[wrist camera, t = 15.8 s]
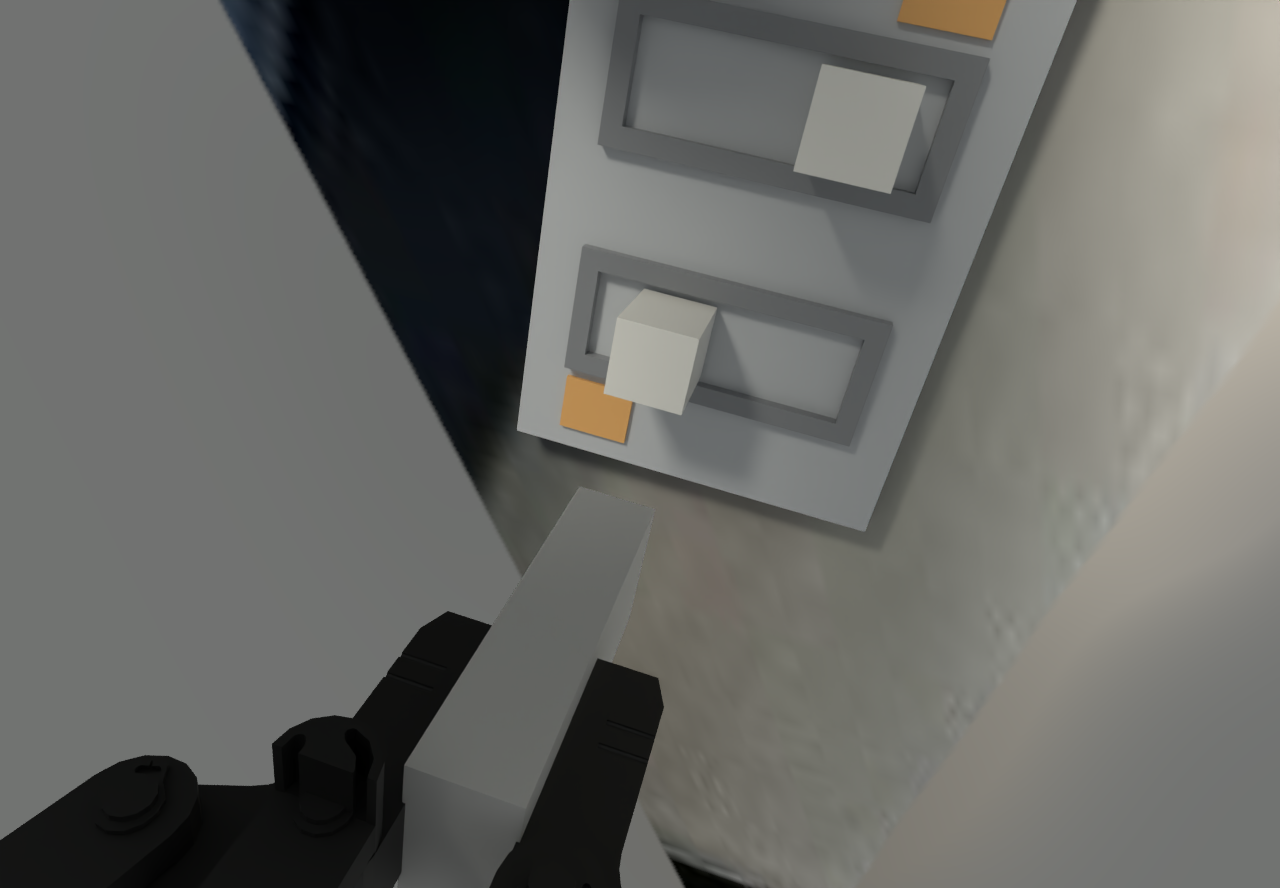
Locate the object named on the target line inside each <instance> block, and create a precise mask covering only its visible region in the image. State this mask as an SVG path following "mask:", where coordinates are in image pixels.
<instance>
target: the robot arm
mask: <svg viewBox="0 0 1280 888" xmlns="http://www.w3.org/2000/svg"><path fill="white" fill-rule="evenodd" d="M654 513H655V509H654V508H650V507H647V506H644V505H640V504H637V503H634V502H630V501H627V500H624V499H620V498H617V497H614V496H610V495H607V494H604V493H600V492H597V491H594V490H590V489H587V488H584V487H579V488H578V490H577V491H576V493H575V494H574V496H573V498H572V499H571V501H570V502H569V504H568V506H567V507H566V509H565V510H564V512H563V514H562V515H561V517H560V518H559V520H558V522H557V523H556V525H555V526H554V528H553V529H552V531H551V533H550V534H549V536H548V537H547V539H546V541H545V542H544V544H543V545H542V547H541V549H540V550H539V552H538V553H537V555H536V556H535V558H534V560H533V561H532V563H531V564H530V566H529V568H528V569H527V571H526V572H525V574H524V576H523V577H522V579H521V580H520V582H519V583H518V585H517V587H516V588H515V590H514V591H513V593H512V595H511V596H510V598H509V600H508V601H507V603H506V604H505V606H504V607H503V609H502V611H501V612H500V614H499V615H498V617H497V618H496V620H495V622H494V623H493V625H489V624H486V623H483V622H480V621H477V620H474V619H470V618H467V617H464V616H461V615H458V614H455V613H452V612H449V611H447V612H446V613H444V614H442V615H441V616H439V617H438V618H436V619H434V620H433V621H431V622H429V623H428V624H426V625H425V626H423V627H421V628H420V629H419V631H418V632H417V634H416V635H415V636H414V637H413V639H412V640H411V642H410V643H409V644H408V645H407V647H406V648H405V649H404V651H403V652H402V655H401V657H398V659H397V660H396V661H395V663H394V664H393V665H392V667H391V668H390V669H389V671H388V673H387V675H386V677H383V679H382V680H381V681H380V683H379V684H378V685H377V687H376V688H375V689H374V691H373V692H372V693H371V695H370V696H369V697H368V699H367V700H366V701H365V703H364V704H363V705H362V707H361V708H360V709H359V711H358V712H357V713H356V715H355V716H354V717H353V718H347V717H342V716H335V715H334V716H327V717H321V718H313V719H310V720H308V721H305V722H303V723H301V724H299V725H297V726H294V727H292V728H290V729H289V730H288V731H286V732H285V733H284V734H283V735H282V736H280V737H279V738H278V739H277V740H276V741H275V742H274V743H272V749H273V764H274V777H275V783H273V784H269V785H257V786H229V785H198V782H197V777H196V776H195V774H194V773H193V772H192V770H191V769H190V768H189V767H188V765H187V764H186V763H184V762H181V761H179V760H176V759H174V758H172V757H169V756H150V755H147V756H146V755H145V756H141V757H137V758H133V759H129V760H125V761H121V762H118V763H117V764H115V765H113V766H111V767H109V768H107V769H105V770H103V771H101V772H99V773H98V774H96V775H94V776H93V777H91V778H90V779H88V780H87V781H86V782H84V783H83V784H81V785H80V786H78V787H77V788H75V789H74V790H72V791H71V792H69V793H68V794H67V795H65V796H64V797H62V798H61V799H59V800H58V801H56V802H55V803H54V804H52V805H51V806H49V807H48V808H46V809H45V810H44V811H42V812H41V813H39V814H38V815H36V816H35V817H33V818H32V819H30V820H29V821H27V822H26V823H25V824H23V825H22V826H20V827H19V828H17V829H16V830H14V831H13V832H12V833H10V834H9V835H7V836H6V837H4V838H3V839H2V840H0V888H393V887H394V884H395V883H396V881H397V880H398V887H397V888H621V884H620V872H619V867H620V860H621V854H622V850H623V847H624V843H625V840H626V836H627V833H628V829H629V826H630V822H631V819H632V815H633V812H634V809H635V805H636V802H637V798H638V795H639V791H640V788H641V784H642V781H643V777H644V774H645V770H646V767H647V764H648V760H649V757H650V753H651V750H652V746H653V743H654V739H655V736H656V732H657V729H658V726H659V722H660V719H661V715H662V712H663V708H664V706H663V700H662V695H661V690H660V685H659V680H658V678H656V677H653V676H650V675H647V674H644V673H641V672H638V671H635V670H632V669H629V668H626V667H623V666H620V665H617V664H614V663H612V660H613V658H614V655H615V653H616V650H617V648H618V645H619V643H620V640H621V638H622V635H623V633H624V630H625V628H626V625H627V623H628V620H629V617H630V613H631V609H632V605H633V601H634V596H635V592H636V588H637V584H638V580H639V576H640V571H641V567H642V563H643V559H644V555H645V550H646V546H647V542H648V538H649V534H650V530H651V525H652V521H653V517H654Z"/></svg>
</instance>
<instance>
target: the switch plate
mask: <svg viewBox="0 0 1280 888" xmlns="http://www.w3.org/2000/svg"><path fill="white" fill-rule="evenodd" d="M1076 1H1077V0H570V2H569V10H568V18H567V26H566V35H565V43H564V51H563V59H562V67H561V75H560V83H559V92H558V100H557V108H556V116H555V124H554V132H553V140H552V149H551V157H550V165H549V173H548V181H547V189H546V198H545V206H544V214H543V222H542V230H541V238H540V246H539V255H538V263H537V271H536V279H535V287H534V295H533V303H532V312H531V320H530V328H529V336H528V344H527V352H526V360H525V369H524V377H523V385H522V393H521V401H520V409H519V418H518V426H517V430H518V431H521V432H524V433H528V434H531V435H535V436H538V437H541V438H545V439H548V440H552V441H555V442H559V443H562V444H565V445H569V446H572V447H576V448H579V449H582V450H586V451H589V452H593V453H596V454H600V455H603V456H606V457H610V458H613V459H617V460H620V461H623V462H627V463H630V464H634V465H637V466H641V467H644V468H647V469H651V470H654V471H658V472H661V473H664V474H668V475H671V476H675V477H678V478H682V479H685V480H688V481H692V482H695V483H699V484H702V485H705V486H709V487H712V488H716V489H719V490H723V491H726V492H729V493H733V494H736V495H740V496H743V497H746V498H750V499H753V500H757V501H760V502H764V503H767V504H770V505H774V506H777V507H781V508H784V509H788V510H791V511H794V512H798V513H801V514H805V515H808V516H811V517H815V518H818V519H822V520H825V521H829V522H832V523H835V524H839V525H842V526H846V527H849V528H852V529H856V530H859V531H863V532H865V530H866V528H867V525H868V523H869V520H870V518H871V515H872V513H873V510H874V508H875V505H876V503H877V500H878V498H879V495H880V493H881V490H882V488H883V485H884V483H885V480H886V478H887V475H888V473H889V470H890V468H891V465H892V463H893V460H894V458H895V455H896V453H897V450H898V448H899V445H900V443H901V440H902V438H903V435H904V433H905V430H906V428H907V425H908V423H909V420H910V418H911V415H912V413H913V410H914V408H915V405H916V403H917V400H918V398H919V395H920V393H921V390H922V388H923V385H924V383H925V380H926V377H927V375H928V372H929V370H930V367H931V365H932V362H933V360H934V357H935V355H936V352H937V350H938V347H939V345H940V342H941V340H942V337H943V335H944V332H945V330H946V327H947V325H948V322H949V320H950V317H951V315H952V312H953V310H954V307H955V305H956V302H957V300H958V297H959V295H960V292H961V290H962V287H963V285H964V282H965V280H966V277H967V275H968V272H969V270H970V267H971V265H972V262H973V260H974V257H975V255H976V252H977V250H978V247H979V245H980V242H981V240H982V237H983V235H984V232H985V230H986V227H987V225H988V222H989V220H990V217H991V215H992V212H993V210H994V207H995V205H996V202H997V200H998V197H999V195H1000V192H1001V189H1002V187H1003V184H1004V182H1005V179H1006V177H1007V174H1008V172H1009V169H1010V167H1011V164H1012V162H1013V159H1014V157H1015V154H1016V152H1017V149H1018V147H1019V144H1020V142H1021V139H1022V137H1023V134H1024V132H1025V129H1026V127H1027V124H1028V122H1029V119H1030V117H1031V114H1032V112H1033V109H1034V107H1035V104H1036V102H1037V99H1038V97H1039V94H1040V92H1041V89H1042V87H1043V84H1044V82H1045V79H1046V77H1047V74H1048V72H1049V69H1050V67H1051V64H1052V62H1053V59H1054V57H1055V54H1056V52H1057V49H1058V47H1059V44H1060V42H1061V39H1062V37H1063V34H1064V32H1065V29H1066V27H1067V24H1068V22H1069V19H1070V17H1071V14H1072V12H1073V9H1074V7H1075V4H1076ZM822 64H829V65H833V66H838V67H843V68H848V69H852V70H857V71H862V72H866V73H871V74H876V75H880V76H885V77H890V78H894V79H899V80H904V81H909V82H913V83H918V84H921V85H924V86H926V89H925V92H924V95H923V98H922V101H921V104H920V107H919V110H918V113H917V116H916V119H915V122H914V125H913V128H912V131H911V134H910V137H909V140H908V143H907V146H906V149H905V152H904V155H903V158H902V161H901V164H900V167H899V170H898V173H897V176H896V179H895V182H894V185H893V188H892V191H891V194H888V193H884V192H880V191H876V190H871V189H867V188H863V187H858V186H854V185H850V184H846V183H841V182H837V181H833V180H828V179H824V178H820V177H815V176H811V175H807V174H803V173H798V172H794V171H793V170H794V166H795V162H796V159H797V155H798V151H799V147H800V144H801V140H802V136H803V133H804V129H805V125H806V121H807V118H808V114H809V110H810V107H811V103H812V99H813V95H814V92H815V88H816V84H817V81H818V77H819V73H820V69H821V66H822ZM644 288H645V289H648V290H652V291H656V292H660V293H664V294H668V295H671V296H675V297H679V298H683V299H687V300H691V301H694V302H698V303H702V304H706V305H710V306H714V307H717V312H716V316H715V320H714V324H713V328H712V332H711V336H710V340H709V344H708V348H707V353H706V357H705V361H704V365H703V369H702V373H701V377H700V379H699V381H698V383H697V385H696V387H695V389H694V391H693V393H692V395H691V397H690V399H689V401H688V403H687V405H686V407H685V409H684V411H683V413H682V415H678V414H675V413H671V412H667V411H664V410H660V409H657V408H653V407H650V406H646V405H643V404H639V403H635V402H632V401H628V400H625V399H621V398H618V397H614V396H611V395H607V394H603V393H604V388H605V382H606V376H607V371H608V365H609V360H610V354H611V349H612V343H613V337H614V332H615V326H616V321H617V317H618V316H619V315H620V314H621V313H622V312H623V311H624V309H625V308H626V307H627V306H628V305H629V304H630V303H631V302H632V301H633V300H634V299H635V298H636V297H637V296H638V295H639V294H640V293H641V292H642V290H643V289H644Z"/></svg>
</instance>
